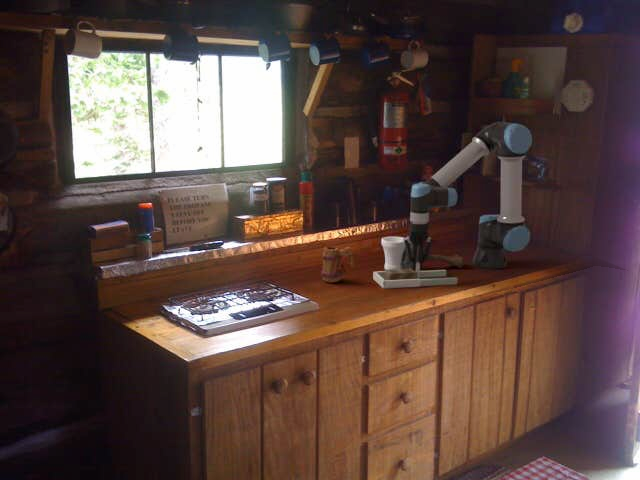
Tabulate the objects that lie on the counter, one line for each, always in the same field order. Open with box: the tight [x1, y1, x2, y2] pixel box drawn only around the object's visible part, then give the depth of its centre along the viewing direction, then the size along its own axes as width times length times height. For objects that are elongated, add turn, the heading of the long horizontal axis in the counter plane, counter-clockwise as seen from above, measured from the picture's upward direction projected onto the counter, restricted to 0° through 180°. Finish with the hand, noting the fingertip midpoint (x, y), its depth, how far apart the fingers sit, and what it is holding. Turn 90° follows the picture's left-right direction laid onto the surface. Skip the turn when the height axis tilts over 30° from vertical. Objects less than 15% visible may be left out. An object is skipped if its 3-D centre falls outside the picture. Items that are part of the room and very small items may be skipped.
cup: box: [381, 235, 406, 271], centre depth 302 cm, size 11×11×14 cm
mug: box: [320, 245, 356, 283], centre depth 285 cm, size 15×8×15 cm, turn 70°
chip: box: [399, 269, 418, 280], centre depth 288 cm, size 6×6×5 cm
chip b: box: [384, 269, 404, 280], centre depth 287 cm, size 6×6×5 cm
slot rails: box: [419, 269, 458, 287], centre depth 291 cm, size 16×13×2 cm
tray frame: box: [372, 270, 421, 289], centre depth 287 cm, size 16×14×3 cm
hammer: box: [401, 240, 464, 269], centre depth 307 cm, size 15×10×30 cm
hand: (416, 277), depth 289 cm, fingers closed
